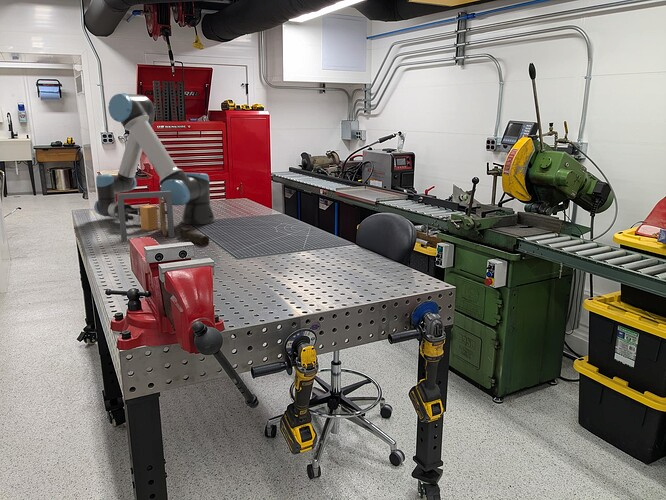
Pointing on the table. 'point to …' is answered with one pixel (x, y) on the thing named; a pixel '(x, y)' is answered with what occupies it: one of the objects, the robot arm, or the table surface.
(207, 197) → the robot arm
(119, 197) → the door frame
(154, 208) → the block
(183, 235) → the hand tool
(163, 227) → the door
